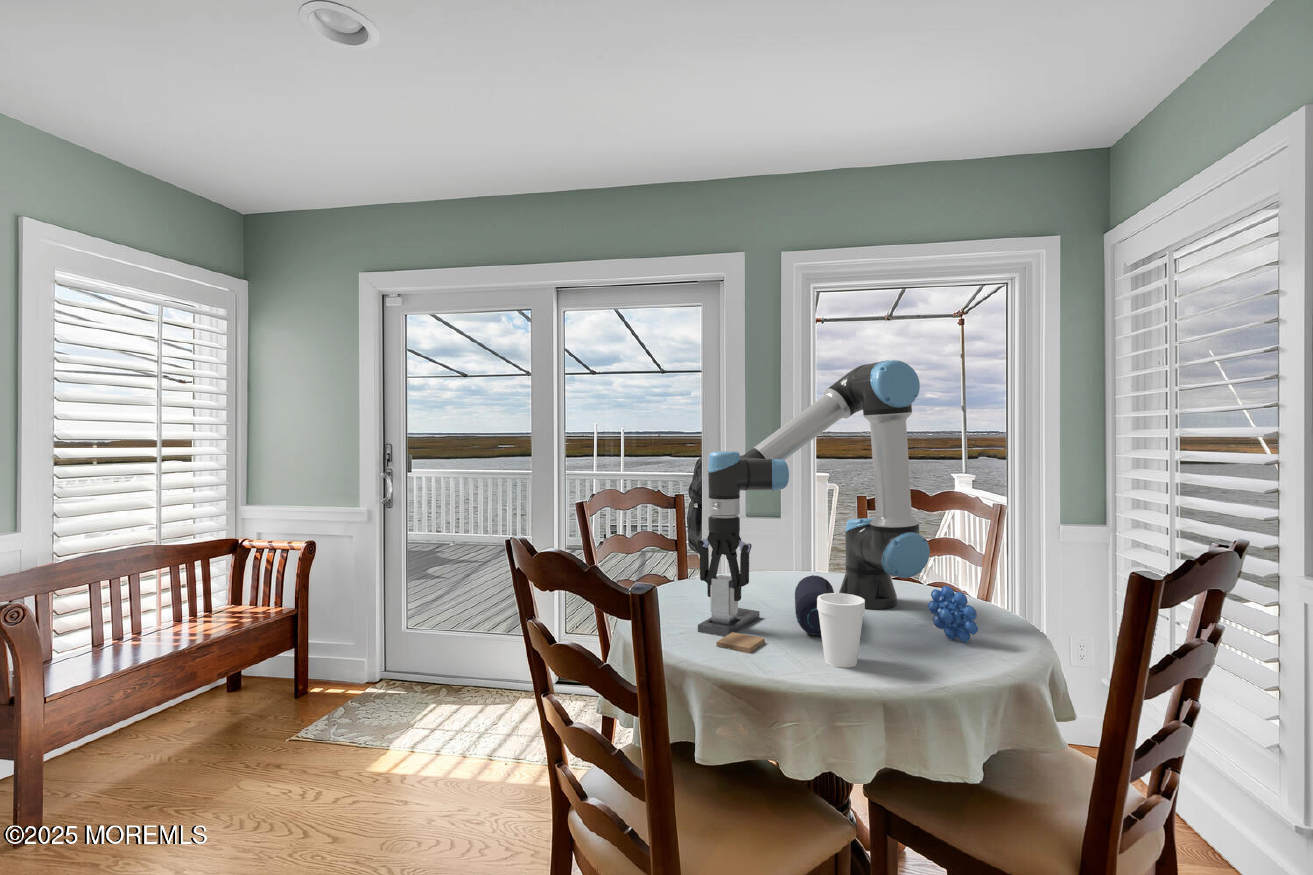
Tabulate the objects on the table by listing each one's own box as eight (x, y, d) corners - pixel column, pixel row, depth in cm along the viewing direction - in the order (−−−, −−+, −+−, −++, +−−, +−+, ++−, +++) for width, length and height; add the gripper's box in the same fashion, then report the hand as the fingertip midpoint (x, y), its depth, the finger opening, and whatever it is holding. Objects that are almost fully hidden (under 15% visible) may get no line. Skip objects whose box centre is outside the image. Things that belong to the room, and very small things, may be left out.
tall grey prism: (736, 626, 158) (736, 577, 157) (728, 631, 154) (728, 580, 153) (720, 623, 160) (720, 574, 160) (711, 628, 156) (711, 578, 156)
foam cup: (811, 654, 138) (811, 593, 138) (853, 653, 139) (853, 592, 139) (826, 671, 129) (826, 605, 128) (872, 669, 129) (872, 604, 129)
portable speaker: (841, 641, 147) (841, 597, 146) (795, 639, 148) (795, 595, 148) (833, 610, 171) (833, 572, 171) (794, 608, 173) (794, 571, 173)
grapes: (917, 636, 149) (917, 584, 149) (934, 631, 153) (934, 580, 153) (966, 650, 140) (967, 595, 140) (983, 644, 144) (983, 590, 144)
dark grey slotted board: (759, 617, 165) (759, 610, 165) (728, 637, 150) (728, 629, 150) (730, 612, 169) (730, 606, 169) (697, 631, 154) (697, 624, 154)
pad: (764, 642, 146) (764, 637, 146) (749, 652, 139) (749, 648, 139) (732, 636, 150) (732, 631, 150) (716, 646, 143) (716, 641, 143)
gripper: (684, 514, 158) (684, 610, 158) (751, 520, 148) (751, 622, 149) (699, 511, 164) (699, 603, 165) (764, 516, 155) (764, 613, 155)
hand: (724, 612), depth 157 cm, fingers closed on tall grey prism, 4 cm apart
